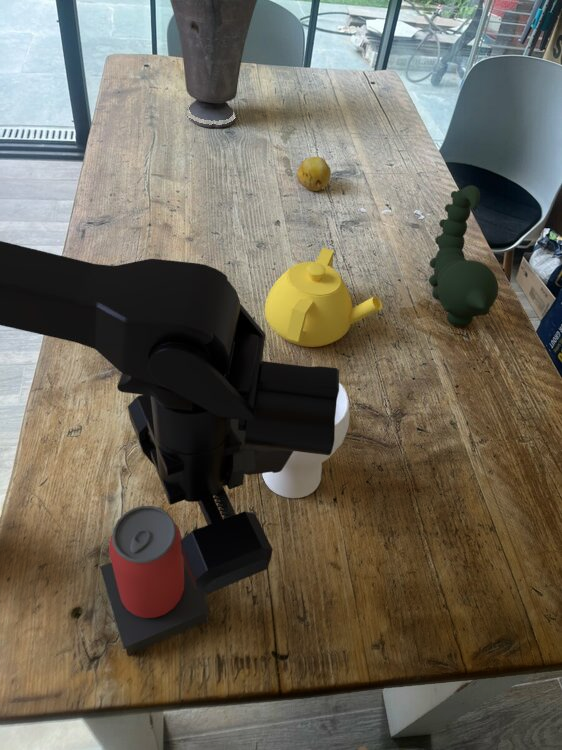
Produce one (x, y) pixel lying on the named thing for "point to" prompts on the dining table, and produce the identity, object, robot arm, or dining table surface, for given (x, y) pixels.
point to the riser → (153, 630)
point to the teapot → (314, 304)
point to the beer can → (147, 561)
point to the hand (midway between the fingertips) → (195, 526)
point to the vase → (212, 52)
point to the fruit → (314, 173)
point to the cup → (309, 460)
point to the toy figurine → (461, 266)
